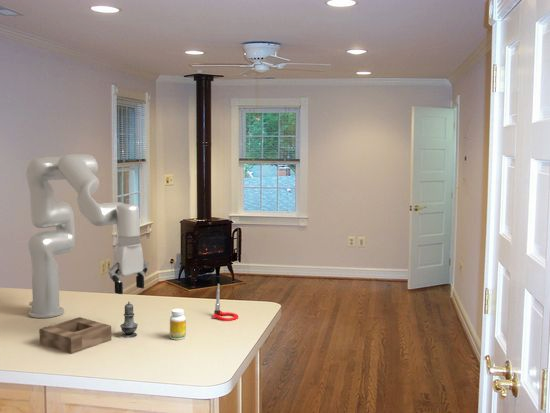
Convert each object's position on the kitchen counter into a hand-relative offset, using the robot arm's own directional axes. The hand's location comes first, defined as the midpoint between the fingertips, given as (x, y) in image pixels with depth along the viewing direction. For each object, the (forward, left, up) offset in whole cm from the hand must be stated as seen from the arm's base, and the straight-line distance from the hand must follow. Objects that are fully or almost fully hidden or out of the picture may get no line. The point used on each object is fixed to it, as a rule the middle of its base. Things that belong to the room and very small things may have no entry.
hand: (129, 290), depth 204 cm
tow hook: (+14, +36, -16) cm, 42 cm away
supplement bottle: (+15, +8, -16) cm, 23 cm away
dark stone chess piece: (0, 0, -16) cm, 16 cm away
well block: (-9, -15, -16) cm, 24 cm away
